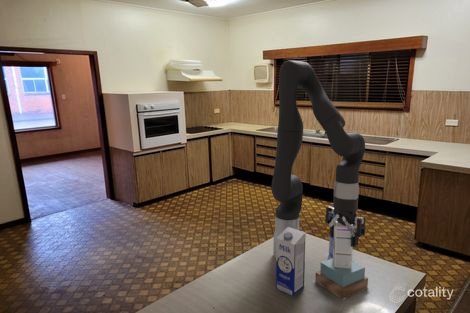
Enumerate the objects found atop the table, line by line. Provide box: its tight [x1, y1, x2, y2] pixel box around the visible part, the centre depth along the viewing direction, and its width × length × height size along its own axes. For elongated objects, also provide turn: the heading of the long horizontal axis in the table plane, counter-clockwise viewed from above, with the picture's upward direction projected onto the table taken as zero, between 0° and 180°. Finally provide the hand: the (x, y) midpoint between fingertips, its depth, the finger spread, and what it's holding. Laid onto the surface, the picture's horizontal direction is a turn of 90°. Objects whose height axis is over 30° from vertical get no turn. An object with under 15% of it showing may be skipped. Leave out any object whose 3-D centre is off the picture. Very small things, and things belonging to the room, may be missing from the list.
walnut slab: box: [314, 270, 369, 300], centre depth 112 cm, size 12×12×4 cm
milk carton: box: [275, 227, 307, 297], centre depth 109 cm, size 7×7×20 cm
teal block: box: [319, 258, 366, 287], centre depth 111 cm, size 10×10×4 cm
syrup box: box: [333, 221, 354, 269], centre depth 110 cm, size 6×6×14 cm
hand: (343, 241), depth 110 cm, fingers open, 8 cm apart
